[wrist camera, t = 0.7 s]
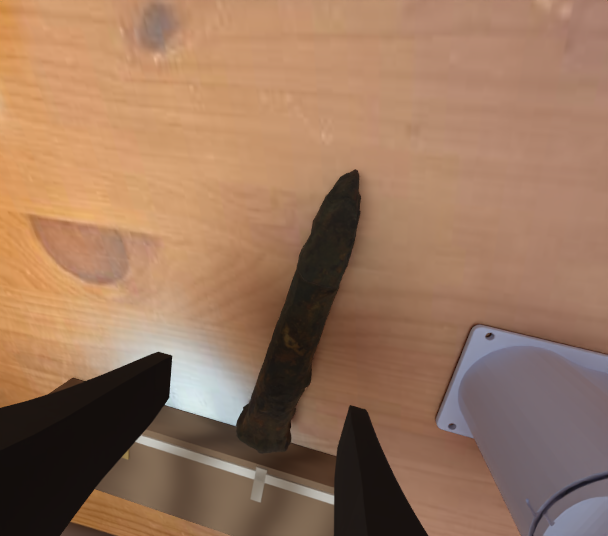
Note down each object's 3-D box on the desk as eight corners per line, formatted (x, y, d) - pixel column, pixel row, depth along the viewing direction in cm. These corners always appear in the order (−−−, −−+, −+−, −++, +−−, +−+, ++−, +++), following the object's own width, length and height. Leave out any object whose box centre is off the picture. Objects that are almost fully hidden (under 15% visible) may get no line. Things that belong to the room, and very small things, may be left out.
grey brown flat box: (370, 467, 23) (373, 501, 20) (347, 537, 25) (346, 576, 22) (72, 378, 25) (42, 398, 23) (75, 449, 28) (47, 474, 25)
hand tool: (293, 422, 23) (280, 476, 19) (246, 402, 23) (222, 451, 19) (398, 189, 18) (414, 189, 13) (336, 165, 18) (332, 157, 13)
